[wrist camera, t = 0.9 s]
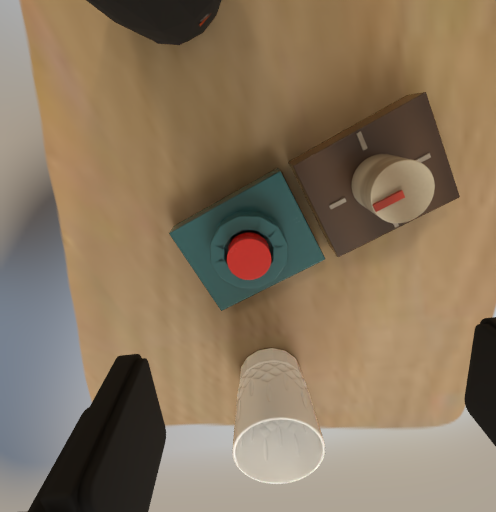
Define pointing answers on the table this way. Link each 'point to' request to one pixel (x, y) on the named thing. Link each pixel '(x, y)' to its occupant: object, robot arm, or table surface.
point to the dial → (393, 187)
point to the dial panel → (354, 153)
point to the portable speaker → (161, 17)
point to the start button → (248, 256)
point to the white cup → (275, 420)
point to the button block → (241, 221)
